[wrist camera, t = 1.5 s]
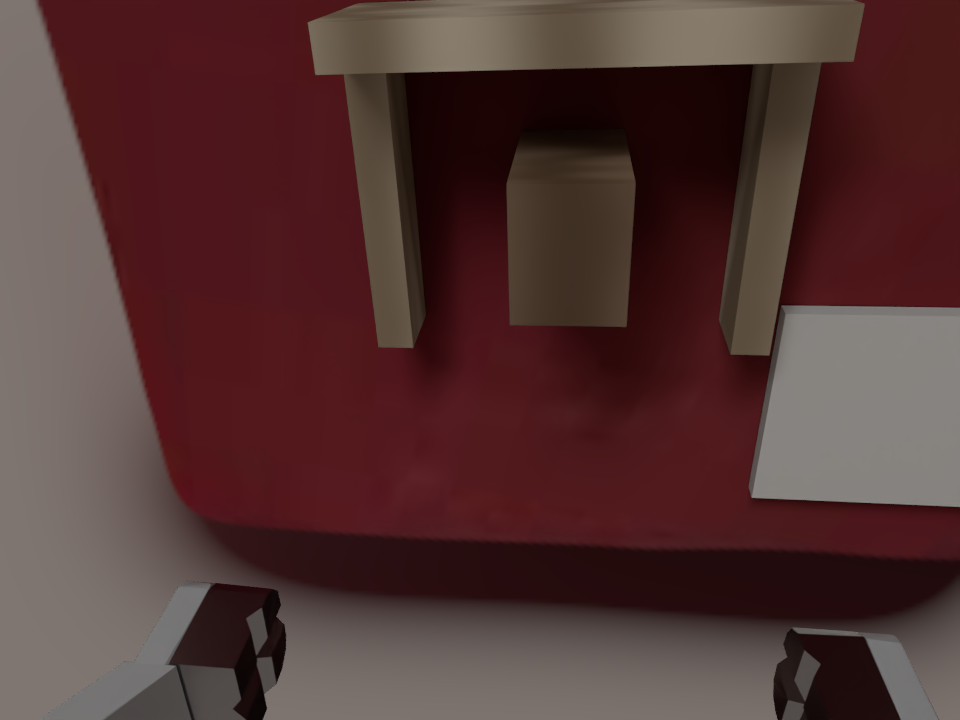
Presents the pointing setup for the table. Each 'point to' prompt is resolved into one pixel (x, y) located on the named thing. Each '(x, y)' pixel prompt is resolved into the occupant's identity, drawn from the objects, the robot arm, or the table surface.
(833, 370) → the white tile
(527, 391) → the table surface
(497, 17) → the shelf bay
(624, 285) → the block
